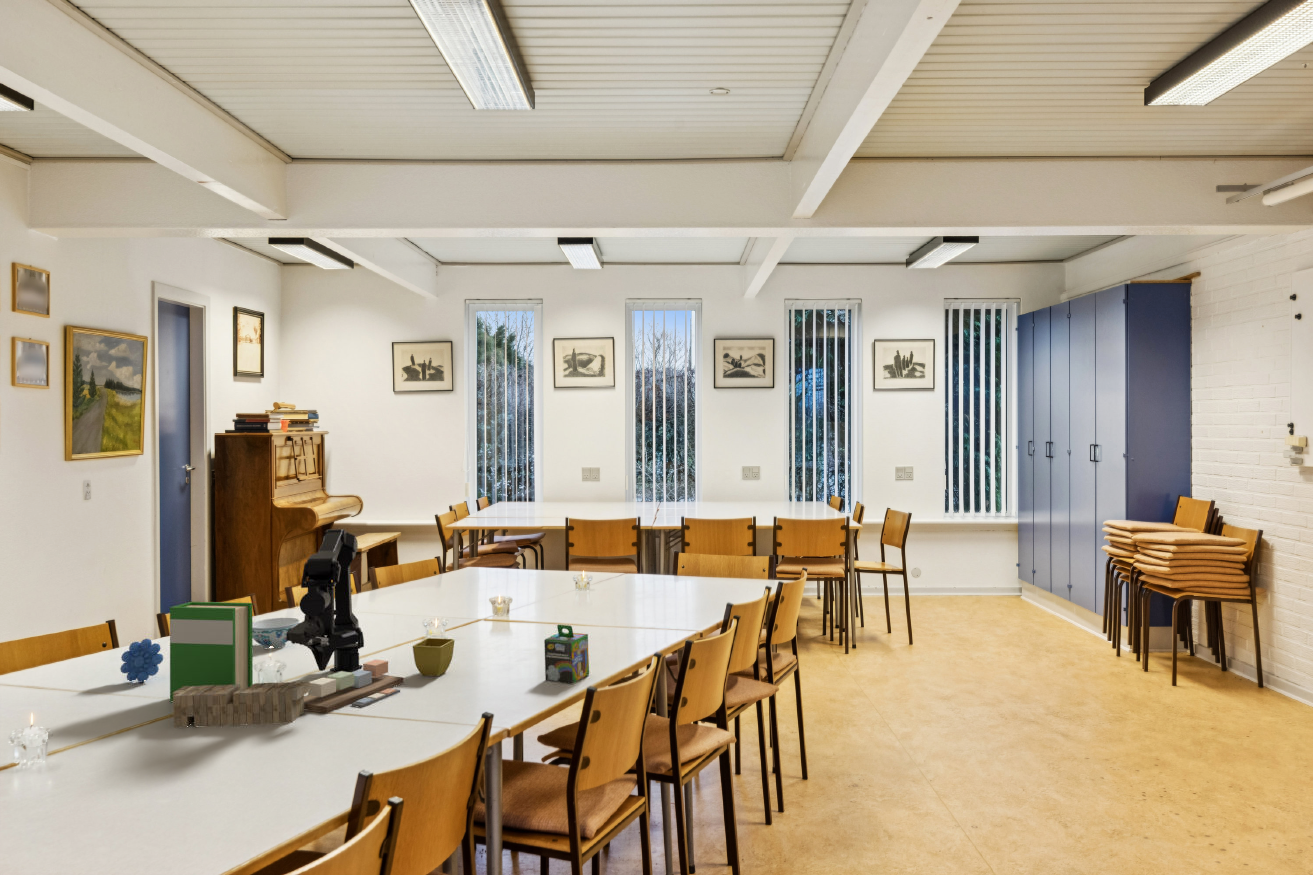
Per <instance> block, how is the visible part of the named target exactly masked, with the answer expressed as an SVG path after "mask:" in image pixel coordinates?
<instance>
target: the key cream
mask: <svg viewBox="0 0 1313 875" xmlns="http://www.w3.org/2000/svg"><path fill="white" fill-rule="evenodd" d="M333 692H336V679H329V678H327V677H321V678H318V679H314V680H311V681H310V691H309V692H307V695H313V696H319V697H323V696H325V695H328V694H331V693H333Z"/></svg>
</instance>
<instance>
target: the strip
mask: <svg viewBox="0 0 1313 875" xmlns="http://www.w3.org/2000/svg"><path fill="white" fill-rule="evenodd" d="M398 692H399V693H401V689H397V688H389V689H386V690H383V691H381V692H379V693H376V694H373V695H371V696H368V697H366V698H363V699H360V700H358V701H356V702H354V703H352V704H351V706H352V707H356V706H358V707H357V708H362V707H363V708H365V707H367V706H370V705H372V703H373V704H375V703H378V702H380V701H383V700H384V699H386V698H387V699H388V698H389V696H390V697H392V696H394V695H397V694H399V693H398ZM379 700H380V701H379Z"/></svg>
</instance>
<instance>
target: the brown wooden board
mask: <svg viewBox="0 0 1313 875" xmlns="http://www.w3.org/2000/svg"><path fill="white" fill-rule="evenodd" d="M401 683H402V684H404V677H401V676H397V675H395V676H394V675H388V674H382V675H379V676H377V677H374V676H372V683H371V684H368V685H365V686H363V687H360V688H356V687H347V688H344V689H342V690H339V689H336V692H333V693H331V694H328V695H325V696H323V697H319V696H313V695H308V694H307V695H304V710H306V711H312V712H317V713H323V714H328V713H331V712H334V710H335V711H336V710H339V709H342V708H344V706H345V707H347V706H349V705H352V703H354V702H356V701H358V700H360V699H363V698H366V697H368V696H371V695H373V694H376V693H379V692H381V691H383V690H386V689H389V688H391V689H393V688H395V687H397V686H399V684H400V685H402V684H401ZM396 685H397V686H396ZM394 686H395V687H394Z"/></svg>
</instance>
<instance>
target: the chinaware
mask: <svg viewBox="0 0 1313 875" xmlns="http://www.w3.org/2000/svg"><path fill="white" fill-rule="evenodd" d="M299 623H300V619H298V618H295V617H276V618H275V617H274V618H273V617H272V618H266V619H260V620H257V621H252V639H253V641H255V642H256V643H257V644H259V645H260V646H261V647H264V648H269V647H270V646H273V647H274V648H275V649H279V648H278V647H281V648H283V647H282V646H284V647H285V646H286V643H288V641H286V633H287V632H288V630H289V629H291V628H293V627H295V626H296V625H298V624H299ZM264 648H263V649H264Z"/></svg>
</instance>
